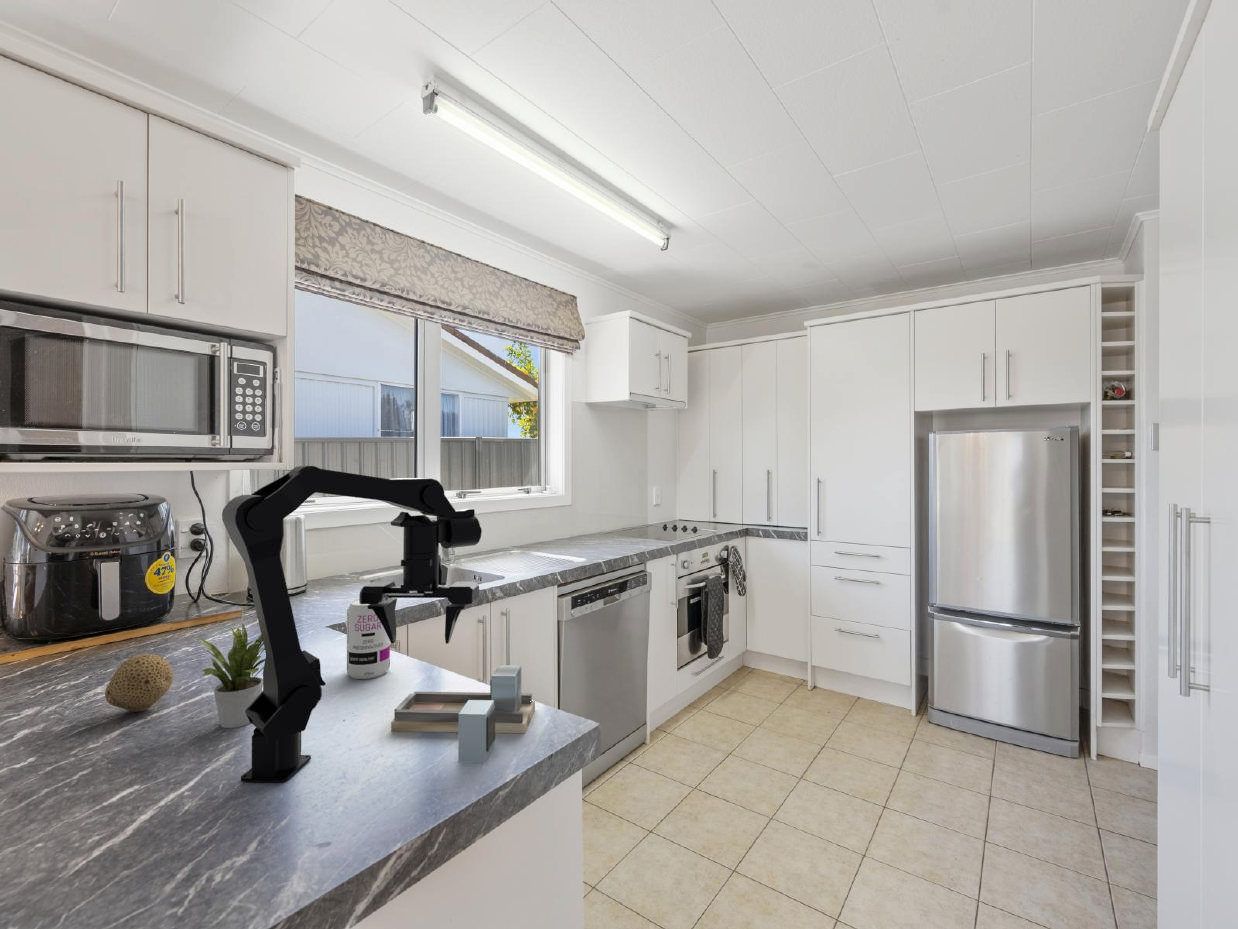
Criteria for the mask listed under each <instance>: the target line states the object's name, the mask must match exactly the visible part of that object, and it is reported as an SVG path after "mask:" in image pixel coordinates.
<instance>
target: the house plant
mask: <svg viewBox="0 0 1238 929" xmlns="http://www.w3.org/2000/svg"><path fill="white" fill-rule="evenodd" d="M229 629H230V630H231V633H232V635H233V641H232V642H233V643H232V647H231V649H229V651H228V653H227V660H228V661H227V660H226V658H225V656H224V655H223V653H222V652H221V651H220V650H219V649H218V647H217V646H215V645H214V644H213V643H211V642H209V641H207V640H205V639H202V638H196V637H195V638H194V639H196V640H198V641H200V642H201V643H203V644H204V645H205V646H206V647H207V648H208V649H209V650H208V649H206V648H202V647H201V649H202V650H203V651H206V653H207V652H208V653H209V654H210V655H211V656H212V657H211V661H212V666H213V668H211V667H209V668H208V667H207V668H203V669H201V671H202V672H203V674H202V675H201V677H203V676H204V677H205V676H208V675H211V676H214V677H216V678H217V679H218V680H219V681H220V682H221V683H219V684H217V685H215V686H214V688H213V693H214V699H215V703H216V709H217V715H218V719H219V724H220V725H219V726H220V727H222V728H224V729H226V728H227V729H234V728H235V729H236V728H240V727H243V726H246V725H249V724H250V725H251V723H250V722H249V720H248V718H247V715H246V713H245V710H246V709H247V708H248V707H249V706H250V705H251V703H252V702H253V701H254V700H255V699H256V698H257V697H258V696H259V695H260V693H261V692H262V691H263V677H262V678H261V677H258V676H257V675H258V674H259V673H260V672H261V671H263V669H264V666H263V667H261V668H259V667H258V666H259V665H261V664H262V663H265V659H266V658H264V659H261V660H260V658H262V656H261V655H262V654H263V652H265V648H264V643H263V639H262V635H261V634H260V635H259V636H258V637H257V638H256V639H254V640H253V641H250V642H248V641H249V638H248V632H247V630H246V626H245V625H244V623H243V622H242V623H241V629H240V627H237V629H236V630H235V631H234V629H233V628H232V627H231V626H229ZM217 660H218V661H219V663H220V664H219V663H218V662H217ZM258 660H260V661H258ZM257 661H258V662H257ZM221 666H222V667H223V668H224V669H223V668H222V667H221ZM259 669H260V670H259ZM224 670H225V671H224ZM254 674H255V675H254Z"/></svg>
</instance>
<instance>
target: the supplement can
mask: <svg viewBox="0 0 1238 929" xmlns="http://www.w3.org/2000/svg"><path fill="white" fill-rule="evenodd" d="M349 604H350V605H349V606H348V608H347V610H346V674H347V675H348V676H350V677H351V678H352V679H356V680H367V679H374V678H378V677H381V676H383V675H384V674H386V673H387V671H389V669H390V667H391V658H390V657H391V645H390V644H391V642H390V640H389V638H388V636H387V634H386V632H385V629H384V627H383V625H382V623H381V622H380V620H379V619H378V617H377V616H376V614H375V613H374V611H373V610H372V609H368V608H367V606H368V605H370V604H360V603H359V599H355V600H354V599H353V600H352V601H351V602H350V603H349Z"/></svg>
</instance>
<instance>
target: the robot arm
mask: <svg viewBox="0 0 1238 929" xmlns="http://www.w3.org/2000/svg"><path fill="white" fill-rule="evenodd" d="M314 494H323V495H324V494H325V495H333V496H341V497H342V496H343V497H349V498H357V499H364V500H365V499H366V500H372V501H373V500H375V501H379V502H383V503H386V504H388V505H391V506H393V507H397V508H400V509H403V510H406V511H407V512H406V511H401V512H399V514H398V515H397V516H396V517H395V518H394V519H393V520H391V522H390V526H392V527H398V528H403V545H402V546H403V551H402V552H403V553H402V555H403V556H402V557H403V558H402V559H400V566H401V567H403V568H402V569H403V570H402V572H403V573H402V574H403V576H402V583H401V584H400V586H396V583H395V581H393V580H383V581H382V580H381V581H380V580H377V581H376V580H375V581H374V580H373V581H372V582H370V583H368V584H366V585H364V586H362V588H361V589H360V592H359V603H360V604H370V605H368V606H367V608H368V609H372V610H373V611H374V613H375V614H376V616H377V617H378V619H379V620H380V622H381V623H382V625H383V627H384V629H385V632H386V634H387V636H388V638H389V640H390V644H392V645H393V644H395V643H396V641H397V622H396V621H397V620H396V619H397V618H396V606H397V601H398V599H400V598H401V599H405V598H406V599H407V598H408V599H447V600H448V601H449V602H450V603H448V604H447V605H446V606H445V619H444V620H445V623H444V624H445V625H444V626H445V629H444V641H445V644H446V645H447V644H450V641H451V639H452V636H453V634H454V630H455V627H456V624H457V621H458V618H459V616H460V614H461V612H462V610H464V609H465V608H466V607H468V606H469V605H471V604H473V603H474V602H476V600H477V599H479V598H480V586H479V584H478V583H477V581H475V580H474V581H466V580H465V581H462V580H461V581H459V580H458V581H457V580H456V581H455V582H454V583H453V584H451V585H449V586H447V582H448V574H449V573H448V572H449V567H448V566H446V565H444V564H442V559H441V558H442V557H441V554H440V553H439V549H440V548H439V546H441V548H444V549H455V548H463V547H465V548H466V547H473V546H477V545H478V544H479V542H480V540H481V538H482V531H483V530H482V527H481V524H480V521H479V519H478V518H477V516H476V515H475V514H476V512H475V509H474V508H462V509H458V510H456V509H455V508H454V506H453V505H452V504H451V502H450V500H449V499H448V498H447V497H446V495H445V490H444V487H443V485H442V483H441V481H439V480H437V479H434V478H426V477H425V478H424V477H423V478H422V477H420V478H419V477H403V478H402V477H400V478H398V477H397V478H384V477H377V476H371V475H370V476H369V475H366V474H358V473H357V474H356V473H350V472H344V471H337V470H331V469H324V468H320V467H318V466H316V465H315V466H314V465H297V466H296V467H295V466H294V467H293V468H292V469H291V470H289V472H287V473H285V474H284V475H283V476H281V477H279V478H277V479H275V480H273V481H271V482H269V483H268V484H266V485H264V486H262V487H261V488H258V489H257V490H256V491H254V492H253V493H251V494H241V495H238V496H235V497H233V498H232V499H231V500H229V501H228V502H227V503H226V505H225V506H224V508H222V512H221V517H222V518H221V519H222V522H223V523H222V524H224V527H225V529H226V531H227V534H228V537H229V538H230V540H231V541H232V543H233V545H234V546H235V548H236V550H237V552H238V553H239V555H240V556H241V559H242V560H243V562H244V564H245V569H246V573H247V574H246V575H247V578H248V582H249V586H250V591H251V595H252V598H253V599H252V600H253V604H254V608H255V609H254V610H255V613H256V617H257V622H258V625H259V630H260V635H262V639H263V642H262V643H264V644H263V648H265V650H264V652H265V658H264V659H265V661H264V665H263V667H264V668H263V669H262V679H263V687H262V692H261V693H260V695H259V696H258V697H257V698H256V699H255V700H254V701H253V702H252V703H251V705H250V706H249V707H248V708H247V709H246V710H245V713H246V715H247V718H248V720H249V722H250V725H251V724H252V725H253V726H254V729H253V735H251V768H250V769H249V770H248V771H246V772H244V773H243V774H241V776H240V781H241V782H261V783H262V782H267V783H270V782H271V783H284V782H287V781H288V780H289V779H290V778H292V776H294V775H295V774H296V773H297V772H299V770H301V768H302V767H304V766H305V765H306V764H307V763H308V762H310V761H311V760H312V755H310V754H302V732H304V731H306V728H307V725H308V722H309V720H310V718H311V715H312V711H313V710H314V709H315V708H316V707H317V705H318V704H319V702H320V701H321V699H322V695H323V694H322V693H323V692H322V690H323V688H322V686H323V687H324V686H325V687H326V685H327V684H326V682H325V681H324V680H323V677H322V673H321V660H320V659H319V657H317V656H315V655H313V654H312V653H310V652H309V651H306V649H305V650H302V647H301V643H300V639H299V635H298V630H297V626H296V621H295V616H294V613H293V612H294V611H293V608H292V604H291V600H290V599H291V598H290V595H289V590H288V585H287V582H286V577H285V572H284V568H283V563H282V562H283V561H282V558H281V556H282V555H281V554H282V553H281V552H282V548H283V542H284V533H285V532H284V531H285V530H284V529H285V528H284V525H285V524H284V519H285V518H286V517H288V516H289V515H291V514H292V513H293V512H295V511H297V509H298V508H300V506H302V504H304V503H305V502H306V501H307V500H308V498H310V497H312V495H314ZM408 511H410V512H411V511H412V512H419V513H420V515H419V514H418V515H411V514H410V513H409V512H408ZM421 514H422V515H421ZM428 516H429V517H430V516H432V517H436V519H430V518H429V517H428ZM439 544H440V545H439Z"/></svg>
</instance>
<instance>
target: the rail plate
mask: <svg viewBox="0 0 1238 929" xmlns="http://www.w3.org/2000/svg"><path fill="white" fill-rule="evenodd" d="M489 682H490V683H489V684H490V686H489V687H490V689H489V690H490V691H489V692H473V691H472V692H470V691H469V692H468V691H465V692H462V691H459V692H458V691H414V692H413V693H409V694H408V696H406V697H405V698H404V699H403V700H402V701H401V702H400V703H399V704H398V705H397V706H396V707H395V708H394V710H393V711H394V717H393V719H392V720H391V722H390V732H423V733H425V732H426V733H430V732H431V733H436V732H437V733H459V713H460V711H461V710H462V708H463V707H464V706H465V704H466V703H467V702H468V700H494V706H495V734H525V733H526V731H527V729H528V726H529V725H530V721H531V720H532V718H533V715H534V712H535V710H536V706H535V705H536V702H535V701H534V700H532V699H533V697H532V696H533V694H532V692H531V693H530V692H525V693H524V692H522V665H508V664H507V665H503V664H502V665H501V664H500V665H497V667H496V669H495V670H494V671H493V673H492V674H491V676H490V681H489ZM530 701H531V702H530Z"/></svg>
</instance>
